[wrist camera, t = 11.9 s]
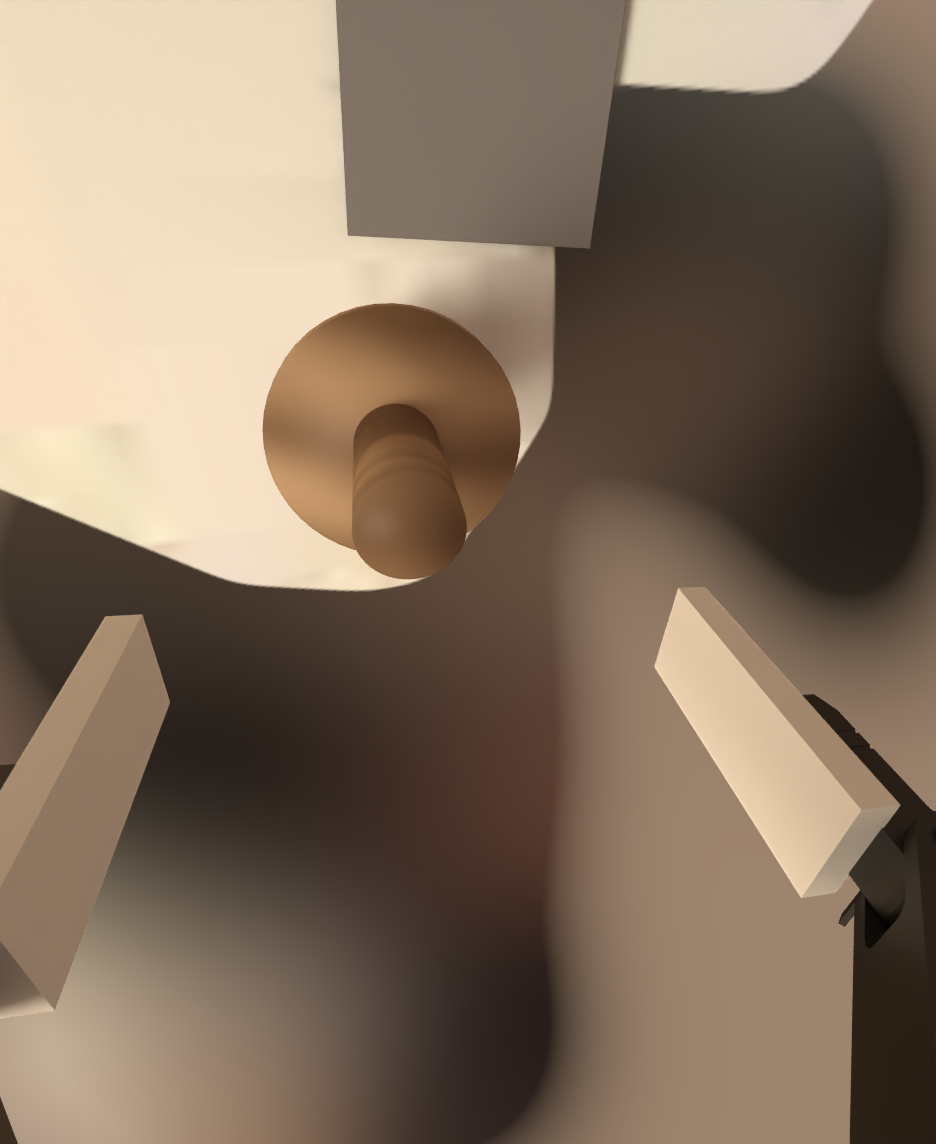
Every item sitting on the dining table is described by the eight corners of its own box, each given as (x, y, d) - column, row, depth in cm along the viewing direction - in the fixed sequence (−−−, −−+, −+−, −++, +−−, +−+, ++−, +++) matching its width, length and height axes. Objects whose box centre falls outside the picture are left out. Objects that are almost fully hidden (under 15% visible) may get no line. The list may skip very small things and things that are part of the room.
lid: (247, 298, 24) (192, 345, 16) (526, 307, 26) (604, 354, 18) (282, 548, 30) (255, 672, 22) (504, 540, 32) (553, 652, 24)
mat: (329, -144, 26) (328, -151, 26) (635, -96, 29) (640, -101, 28) (348, 235, 34) (347, 235, 34) (586, 247, 37) (589, 248, 36)
